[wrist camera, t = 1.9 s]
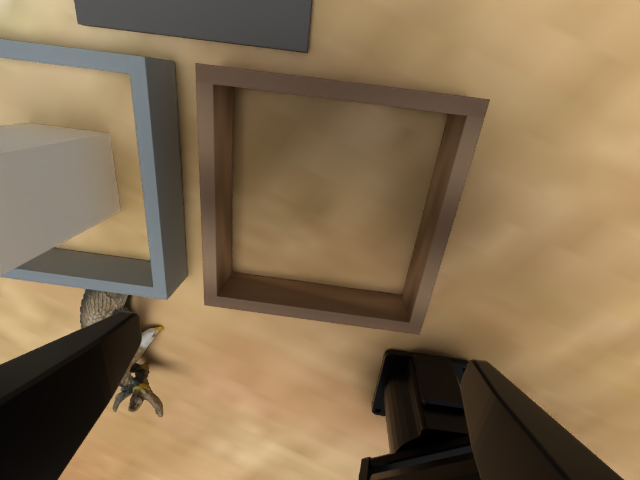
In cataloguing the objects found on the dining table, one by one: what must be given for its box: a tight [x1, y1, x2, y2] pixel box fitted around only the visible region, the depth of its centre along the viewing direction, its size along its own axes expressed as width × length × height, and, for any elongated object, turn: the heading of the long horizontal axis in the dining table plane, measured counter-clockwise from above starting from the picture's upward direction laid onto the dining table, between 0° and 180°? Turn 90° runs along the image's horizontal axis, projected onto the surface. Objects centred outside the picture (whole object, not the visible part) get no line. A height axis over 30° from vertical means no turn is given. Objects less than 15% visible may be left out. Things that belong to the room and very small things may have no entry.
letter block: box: [0, 123, 121, 276], centre depth 17 cm, size 5×5×10 cm
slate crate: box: [0, 39, 188, 300], centre depth 20 cm, size 14×14×3 cm
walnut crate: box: [196, 63, 490, 335], centre depth 20 cm, size 14×14×3 cm
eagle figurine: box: [80, 289, 164, 417], centre depth 24 cm, size 8×7×9 cm
